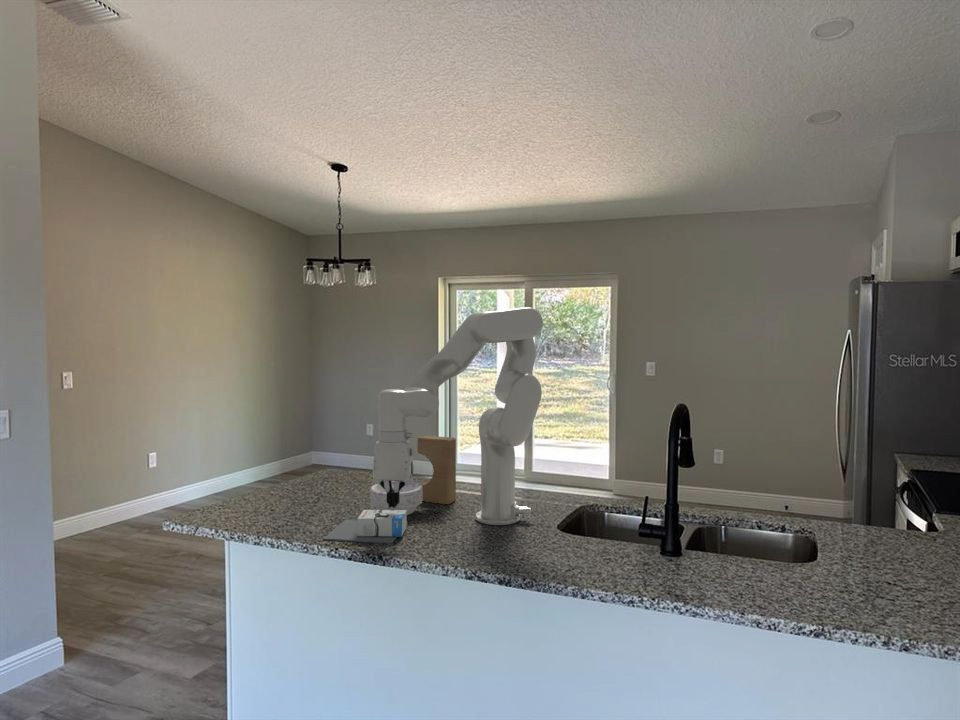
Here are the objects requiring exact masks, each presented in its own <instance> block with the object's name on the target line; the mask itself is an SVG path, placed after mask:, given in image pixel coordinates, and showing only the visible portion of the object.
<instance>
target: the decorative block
mask: <svg viewBox="0 0 960 720" xmlns="http://www.w3.org/2000/svg"><path fill="white" fill-rule="evenodd" d="M456 440H457V439H456V437H451V436H450V437H449V436H438V435H437V436H436V435H423V436H420V437H418V438H417V453H418V454H419V455H423V456H424V457H425V458H427V459H428V460H429V462H430V463H431V465H432V469H433V470H432V477H431V479H430V480H429V481H428V482H424V483H420V484H421V485H422V487H423V489H422V491H423V501H425V502H424V503H429V502H432V503H431V504H437V503H439V504H438V505H445V504H449V505H451V504H452V503H454V502H455V501H456V499H457V496H456V495H457V489H456V486H457V485H456V483H457V481H456V480H457V470H456V469H457V451H456V450H457V448H456V447H457V442H456Z"/></svg>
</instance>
